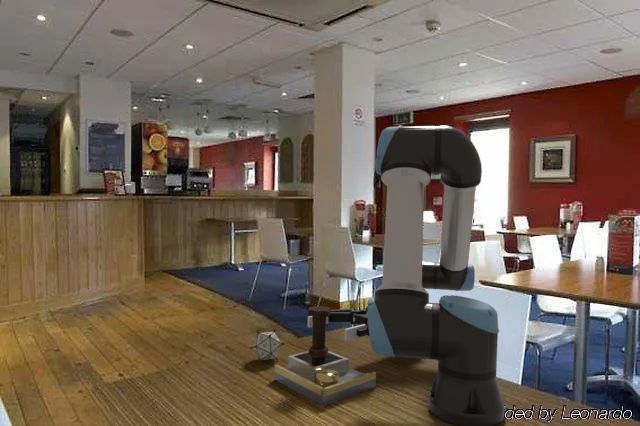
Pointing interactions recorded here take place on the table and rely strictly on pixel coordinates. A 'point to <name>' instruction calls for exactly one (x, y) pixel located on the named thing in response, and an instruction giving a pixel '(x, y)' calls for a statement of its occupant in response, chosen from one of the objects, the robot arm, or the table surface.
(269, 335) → the game die
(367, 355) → the table surface
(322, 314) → the bolt
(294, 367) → the carrier
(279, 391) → the table surface
